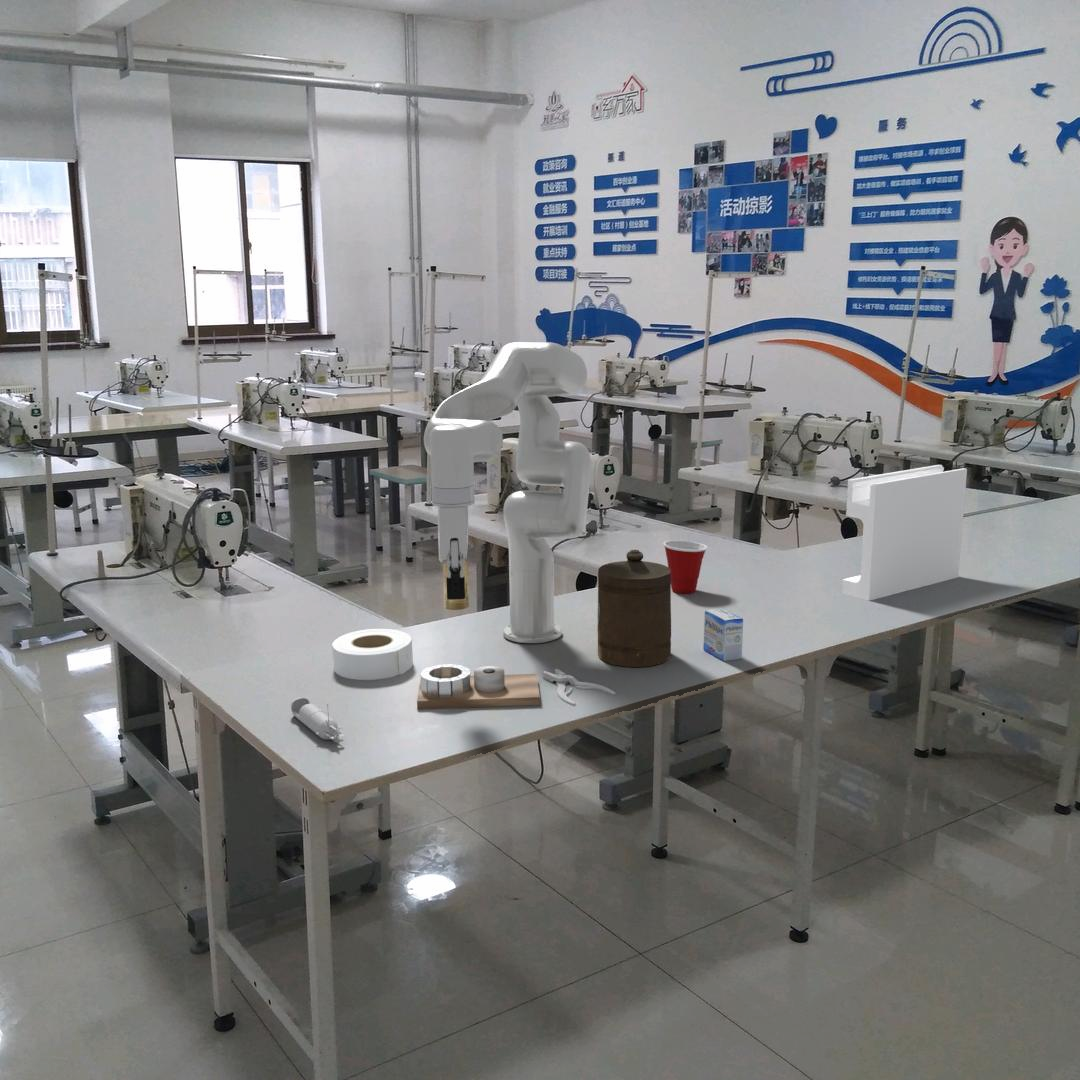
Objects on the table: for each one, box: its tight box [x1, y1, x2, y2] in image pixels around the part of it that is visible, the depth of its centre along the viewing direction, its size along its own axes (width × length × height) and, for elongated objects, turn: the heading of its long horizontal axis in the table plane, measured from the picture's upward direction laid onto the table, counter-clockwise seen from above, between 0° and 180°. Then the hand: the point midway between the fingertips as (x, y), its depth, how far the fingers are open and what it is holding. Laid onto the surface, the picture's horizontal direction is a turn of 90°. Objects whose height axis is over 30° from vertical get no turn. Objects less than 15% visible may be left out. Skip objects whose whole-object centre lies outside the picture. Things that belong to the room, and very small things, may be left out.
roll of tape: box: [331, 628, 414, 681], centre depth 212 cm, size 16×16×6 cm
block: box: [841, 464, 968, 602], centre depth 262 cm, size 35×8×28 cm, turn 125°
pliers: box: [542, 668, 616, 706], centre depth 200 cm, size 10×2×15 cm
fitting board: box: [416, 665, 541, 710], centre depth 196 cm, size 12×22×5 cm, turn 93°
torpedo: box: [290, 697, 345, 745], centre depth 182 cm, size 18×5×7 cm, turn 35°
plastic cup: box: [663, 539, 709, 595], centre depth 261 cm, size 11×11×12 cm
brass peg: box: [442, 560, 470, 611], centre depth 192 cm, size 4×4×8 cm
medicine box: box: [702, 608, 744, 662], centre depth 216 cm, size 8×4×9 cm, turn 23°
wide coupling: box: [420, 663, 471, 697], centre depth 196 cm, size 9×9×3 cm
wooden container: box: [596, 549, 672, 668], centre depth 215 cm, size 15×15×22 cm
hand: (456, 593), depth 192 cm, fingers closed on brass peg, 4 cm apart
